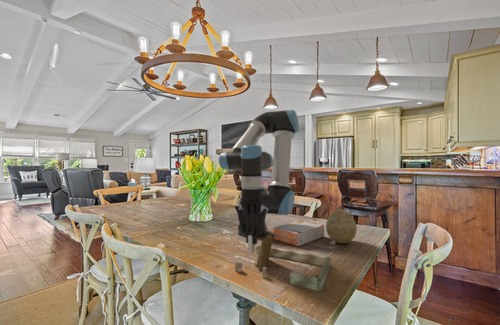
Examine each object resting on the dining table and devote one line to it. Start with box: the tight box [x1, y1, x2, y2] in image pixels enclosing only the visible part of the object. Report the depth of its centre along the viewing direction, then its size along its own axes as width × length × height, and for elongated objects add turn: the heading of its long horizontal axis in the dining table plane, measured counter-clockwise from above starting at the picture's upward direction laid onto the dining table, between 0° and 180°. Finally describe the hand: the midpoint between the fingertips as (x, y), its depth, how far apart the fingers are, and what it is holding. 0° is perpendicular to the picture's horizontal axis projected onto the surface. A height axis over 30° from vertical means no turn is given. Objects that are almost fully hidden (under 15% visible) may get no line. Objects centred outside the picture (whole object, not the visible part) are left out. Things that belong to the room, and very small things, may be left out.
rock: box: [256, 234, 274, 271], centre depth 84 cm, size 11×9×10 cm
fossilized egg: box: [325, 208, 357, 244], centre depth 105 cm, size 13×13×15 cm
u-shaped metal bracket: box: [234, 244, 331, 292], centre depth 81 cm, size 28×18×3 cm, turn 63°
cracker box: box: [273, 219, 325, 247], centre depth 112 cm, size 14×6×21 cm
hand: (251, 252), depth 86 cm, fingers closed
